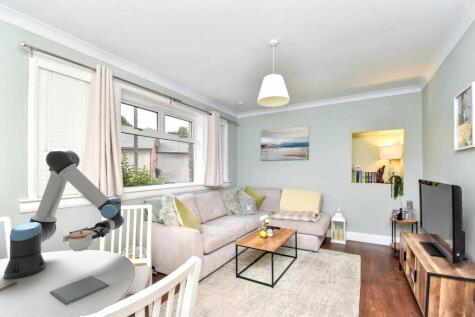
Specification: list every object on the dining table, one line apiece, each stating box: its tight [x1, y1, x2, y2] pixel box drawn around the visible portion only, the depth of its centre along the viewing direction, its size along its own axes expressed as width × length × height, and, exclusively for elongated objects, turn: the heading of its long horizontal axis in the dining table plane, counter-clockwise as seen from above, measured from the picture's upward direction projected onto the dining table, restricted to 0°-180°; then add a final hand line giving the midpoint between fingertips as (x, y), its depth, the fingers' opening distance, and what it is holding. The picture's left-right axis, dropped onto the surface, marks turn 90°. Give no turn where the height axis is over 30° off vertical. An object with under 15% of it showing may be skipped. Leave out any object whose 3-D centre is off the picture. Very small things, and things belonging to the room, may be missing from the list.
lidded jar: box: [67, 229, 94, 252], centre depth 112 cm, size 11×11×9 cm
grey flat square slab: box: [49, 275, 110, 306], centre depth 96 cm, size 16×16×1 cm
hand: (75, 239), depth 108 cm, fingers closed on lidded jar, 11 cm apart
